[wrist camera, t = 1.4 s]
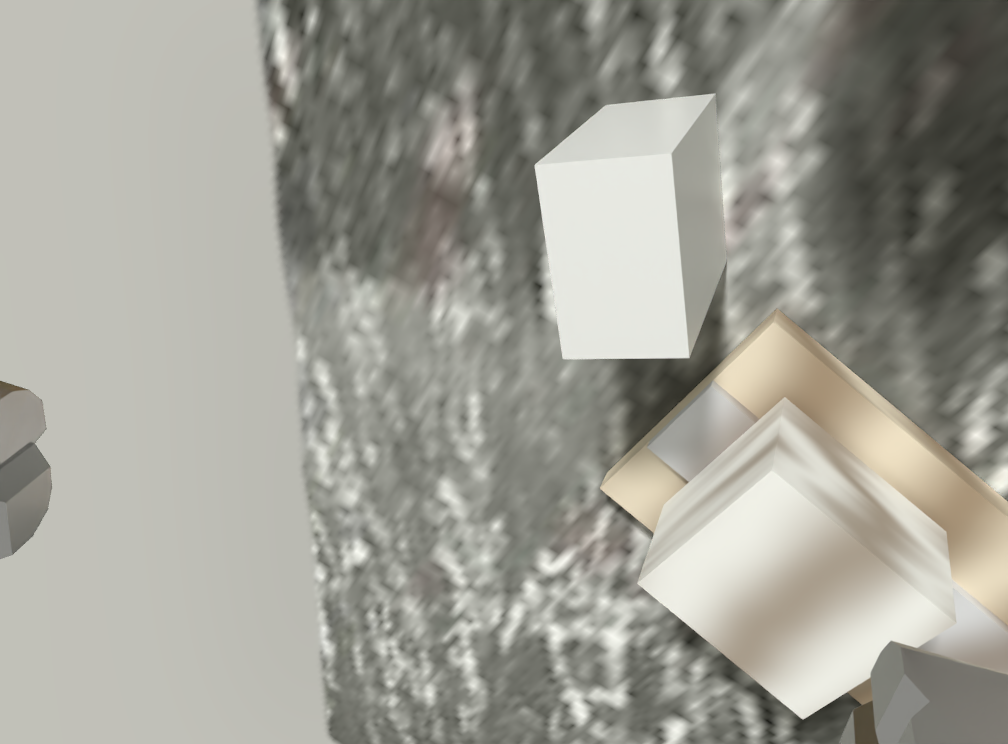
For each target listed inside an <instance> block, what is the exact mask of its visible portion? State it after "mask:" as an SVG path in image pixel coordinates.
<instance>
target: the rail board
mask: <svg viewBox="0 0 1008 744" xmlns="http://www.w3.org/2000/svg"><path fill="white" fill-rule="evenodd" d="M600 489H601V490H602V491H603V492H605V493H606V494H607V495H608V496H609V497H611V498H612V499H613V500H614V501H616V502H617V503H618V504H619V505H620V506H622V507H623V508H624V509H625V510H626V511H628V512H629V513H630V514H631V515H633V516H634V517H635V518H636V519H637V520H639V521H640V522H641V523H642V524H643V525H645V526H646V527H647V528H648V529H649V530H651V531H652V532H653V533H654V535H653V538H652V541H651V544H650V547H649V550H648V553H647V556H646V559H645V562H644V565H643V568H642V571H641V574H640V577H639V580H638V583H637V584H638V585H640V586H641V587H642V588H643V589H645V590H646V591H647V592H648V593H649V594H651V595H652V596H653V597H654V598H655V599H657V600H658V601H659V602H660V603H662V604H663V605H664V606H665V607H666V608H668V609H669V610H670V611H671V612H672V613H674V614H675V615H676V616H677V617H679V618H680V619H681V620H682V621H683V622H685V623H686V624H687V625H688V626H690V627H691V628H692V629H693V630H694V631H696V632H697V633H698V634H699V635H700V636H702V637H703V638H704V639H705V640H707V641H708V642H709V643H710V644H711V645H713V646H714V647H715V648H716V649H718V650H719V651H720V652H721V653H722V654H724V655H725V656H726V657H727V658H728V659H730V660H731V661H732V662H733V663H735V664H736V665H737V666H738V667H739V668H741V669H742V670H743V671H744V672H745V673H747V674H748V675H749V676H750V677H752V678H753V679H754V680H755V681H756V682H758V683H759V684H760V685H761V686H763V687H764V688H765V689H766V690H767V691H769V692H770V693H771V694H772V695H773V696H775V697H776V698H777V699H778V700H780V701H781V702H782V703H783V704H784V705H786V706H787V707H788V708H789V709H791V710H792V711H793V712H794V713H795V714H797V715H798V716H799V717H800V718H801V719H805V718H806V717H808V716H810V715H811V714H813V713H814V712H816V711H818V710H819V709H821V708H822V707H824V706H826V705H827V704H829V703H830V702H832V701H834V700H835V699H837V698H838V697H840V696H842V695H843V694H845V693H846V692H847V693H848V694H850V695H851V696H852V697H853V698H854V699H856V700H857V701H858V702H859V703H861V704H862V705H864V704H866V703H868V702H870V701H872V700H873V698H872V687H871V675H870V673H871V671H872V669H873V667H874V665H875V663H876V661H877V659H878V657H879V655H880V653H881V651H882V650H883V649H884V648H885V647H886V645H887V644H888V643H889V642H890V641H894V642H898V643H901V644H905V645H908V646H912V647H915V648H919V649H922V650H926V651H929V652H933V653H936V654H940V655H943V656H947V657H951V658H954V659H958V660H961V661H965V662H968V663H972V664H975V665H979V666H982V667H986V668H989V669H993V670H996V671H1000V672H1003V673H1007V674H1008V501H1006V500H1005V499H1004V498H1003V497H1002V496H1000V495H999V494H998V493H997V492H996V491H994V490H993V489H992V488H991V487H990V486H988V485H987V484H986V483H985V482H984V481H982V480H981V479H980V478H979V477H978V476H977V475H975V474H974V473H973V472H972V471H971V470H969V469H968V468H967V467H966V466H965V465H963V464H962V463H961V462H960V461H959V460H957V459H956V458H955V457H954V456H953V455H951V454H950V453H949V452H948V451H947V450H945V449H944V448H943V447H942V446H941V445H939V444H938V443H937V442H936V441H935V440H934V439H932V438H931V437H930V436H929V435H928V434H926V433H925V432H924V431H923V430H922V429H920V428H919V427H918V426H917V425H916V424H914V423H913V422H912V421H911V420H910V419H908V418H907V417H906V416H905V415H904V414H902V413H901V412H900V411H899V410H898V409H896V408H895V407H894V406H893V405H892V404H890V403H889V402H888V401H887V400H886V399H885V398H883V397H882V396H881V395H880V394H879V393H877V392H876V391H875V390H874V389H873V388H871V387H870V386H869V385H868V384H867V383H865V382H864V381H863V380H862V379H861V378H859V377H858V376H857V375H856V374H855V373H853V372H852V371H851V370H850V369H849V368H847V367H846V366H845V365H844V364H843V363H842V362H840V361H839V360H838V359H837V358H836V357H834V356H833V355H832V354H831V353H830V352H828V351H827V350H826V349H825V348H824V347H822V346H821V345H820V344H819V343H818V342H816V341H815V340H814V339H813V338H812V337H810V336H809V335H808V334H807V333H806V332H804V331H803V330H802V329H801V328H800V327H799V326H797V325H796V324H795V323H794V322H793V321H791V320H790V319H789V318H788V317H787V316H785V315H784V314H783V313H782V312H781V311H779V310H778V309H776V310H775V311H774V312H773V313H772V314H771V315H770V316H769V317H768V318H767V319H766V320H765V321H763V322H762V323H761V324H760V325H759V326H758V327H757V328H756V329H755V330H754V331H753V332H752V333H751V334H750V335H749V336H748V337H747V338H746V339H745V340H744V341H743V342H742V343H741V344H740V345H739V346H738V347H737V348H736V349H734V350H733V351H732V352H731V353H730V354H729V355H728V356H727V357H726V358H725V359H724V360H723V361H722V362H721V363H720V364H719V365H718V366H717V367H716V368H715V369H714V370H713V371H712V372H711V373H710V374H709V375H708V376H707V377H705V378H704V379H703V380H702V381H701V382H700V383H699V384H698V385H697V386H696V387H695V388H694V389H693V390H692V391H691V392H690V393H689V394H688V395H687V396H686V397H685V398H684V399H683V400H682V401H681V402H680V403H679V404H677V405H676V406H675V407H674V408H673V409H672V410H671V411H670V412H669V413H668V414H667V415H666V416H665V417H664V418H663V419H662V420H661V421H660V422H659V423H658V424H657V425H656V426H655V427H654V428H653V429H652V430H651V431H650V432H648V433H647V434H646V435H645V436H644V437H643V438H642V439H641V440H640V441H639V442H638V443H637V444H636V445H635V446H634V447H633V448H632V449H631V450H630V451H629V452H628V453H627V454H626V455H625V456H624V457H623V458H622V459H621V460H619V461H618V462H617V463H616V464H615V465H614V466H613V467H612V468H611V469H610V470H609V471H608V472H607V474H606V476H605V478H604V480H603V483H602V485H601V487H600Z"/></svg>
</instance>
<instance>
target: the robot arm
mask: <svg viewBox="0 0 1008 744" xmlns="http://www.w3.org/2000/svg"><path fill="white" fill-rule="evenodd" d="M45 430H46V422H45V415H44V409H43V402H42V400H41V399H40V398H39V397H37V396H36V395H35V394H34V393H32V392H31V391H30V390H28V389H25V388H22V387H19V386H15V385H12V384H9V383H6V382H3V381H0V559H1V558H5V557H7V556H11V555H13V554H14V553H15V552H16V551H17V550H18V549H19V548H20V547H21V546H23V545H24V544H25V543H26V542H27V541H28V540H29V539H30V538H31V537H32V536H33V535H34V533H35V531H36V530H37V527H38V526H39V524H40V522H41V521H42V518H43V517H44V515H45V513H46V512H47V510H48V505H49V500H50V495H51V490H52V481H51V468H50V465H49V464H48V462H47V461H46V459H45V458H44V456H43V455H42V453H41V452H40V451H39V449H38V448H37V446H36V445H35V443H36V441H37V440H38V439H39V438H40V436H41V435H42V434H43V433H44V431H45ZM870 675H871V687H872V698H873V700H872V701H870V702H868V703H866V704H864V705H862V706H859V707H857V708H855V709H853V711H852V713H851V716H850V718H849V720H848V723H847V725H846V727H845V730H844V732H843V734H842V737H841V740H840V744H1008V674H1007V673H1003V672H1000V671H996V670H993V669H989V668H986V667H982V666H979V665H975V664H972V663H968V662H965V661H961V660H958V659H954V658H951V657H947V656H943V655H940V654H936V653H933V652H929V651H926V650H922V649H919V648H915V647H912V646H908V645H905V644H901V643H898V642H894V641H890V642H889V643H888V644H887V645H886V647H885V648H884V649H883V650H882V651H881V653H880V655H879V657H878V659H877V661H876V663H875V665H874V667H873V669H872V671H871V673H870Z"/></svg>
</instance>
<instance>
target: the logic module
mask: <svg viewBox="0 0 1008 744" xmlns="http://www.w3.org/2000/svg"><path fill="white" fill-rule="evenodd" d="M535 171H536V178H537V185H538V192H539V199H540V205H541V212H542V219H543V226H544V233H545V240H546V247H547V254H548V260H549V267H550V274H551V281H552V288H553V295H554V302H555V309H556V315H557V322H558V329H559V336H560V343H561V350H562V357H563V359H647V358H690V355H691V353H692V350H693V348H694V345H695V342H696V340H697V337H698V335H699V332H700V329H701V327H702V324H703V322H704V319H705V316H706V314H707V311H708V309H709V306H710V303H711V301H712V298H713V296H714V293H715V290H716V288H717V285H718V283H719V280H720V277H721V275H722V272H723V270H724V267H725V264H726V262H727V254H726V239H725V224H724V209H723V195H722V180H721V165H720V150H719V136H718V121H717V106H716V94H707V95H697V96H688V97H679V98H669V99H660V100H650V101H641V102H631V103H622V104H612V105H605V106H604V107H603V108H602V109H601V110H599V111H598V112H597V113H596V114H595V115H594V116H592V117H591V118H590V119H589V120H588V121H586V122H585V123H584V124H583V125H582V126H580V127H579V128H578V129H577V130H576V131H574V132H573V133H572V134H571V135H570V136H569V137H567V138H566V139H565V140H564V141H563V142H561V143H560V144H559V145H558V146H557V147H555V148H554V149H553V150H552V151H551V152H549V153H548V154H547V155H546V156H545V157H544V158H542V159H541V160H540V161H539V162H538V163H536V164H535Z"/></svg>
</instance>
